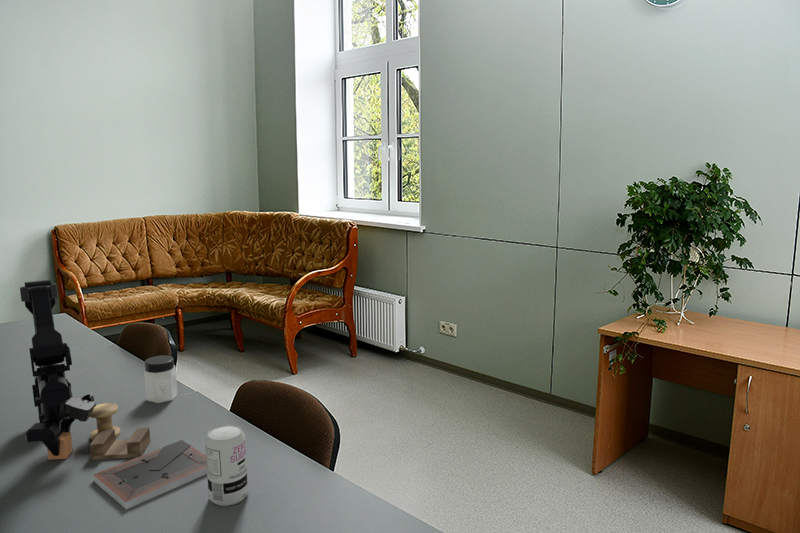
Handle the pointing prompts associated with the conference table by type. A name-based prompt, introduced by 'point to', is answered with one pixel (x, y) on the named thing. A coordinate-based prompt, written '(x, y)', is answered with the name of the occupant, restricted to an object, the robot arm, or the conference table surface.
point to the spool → (104, 418)
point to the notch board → (119, 444)
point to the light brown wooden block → (63, 447)
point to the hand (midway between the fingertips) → (60, 451)
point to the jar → (160, 379)
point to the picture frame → (152, 474)
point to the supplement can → (226, 465)
